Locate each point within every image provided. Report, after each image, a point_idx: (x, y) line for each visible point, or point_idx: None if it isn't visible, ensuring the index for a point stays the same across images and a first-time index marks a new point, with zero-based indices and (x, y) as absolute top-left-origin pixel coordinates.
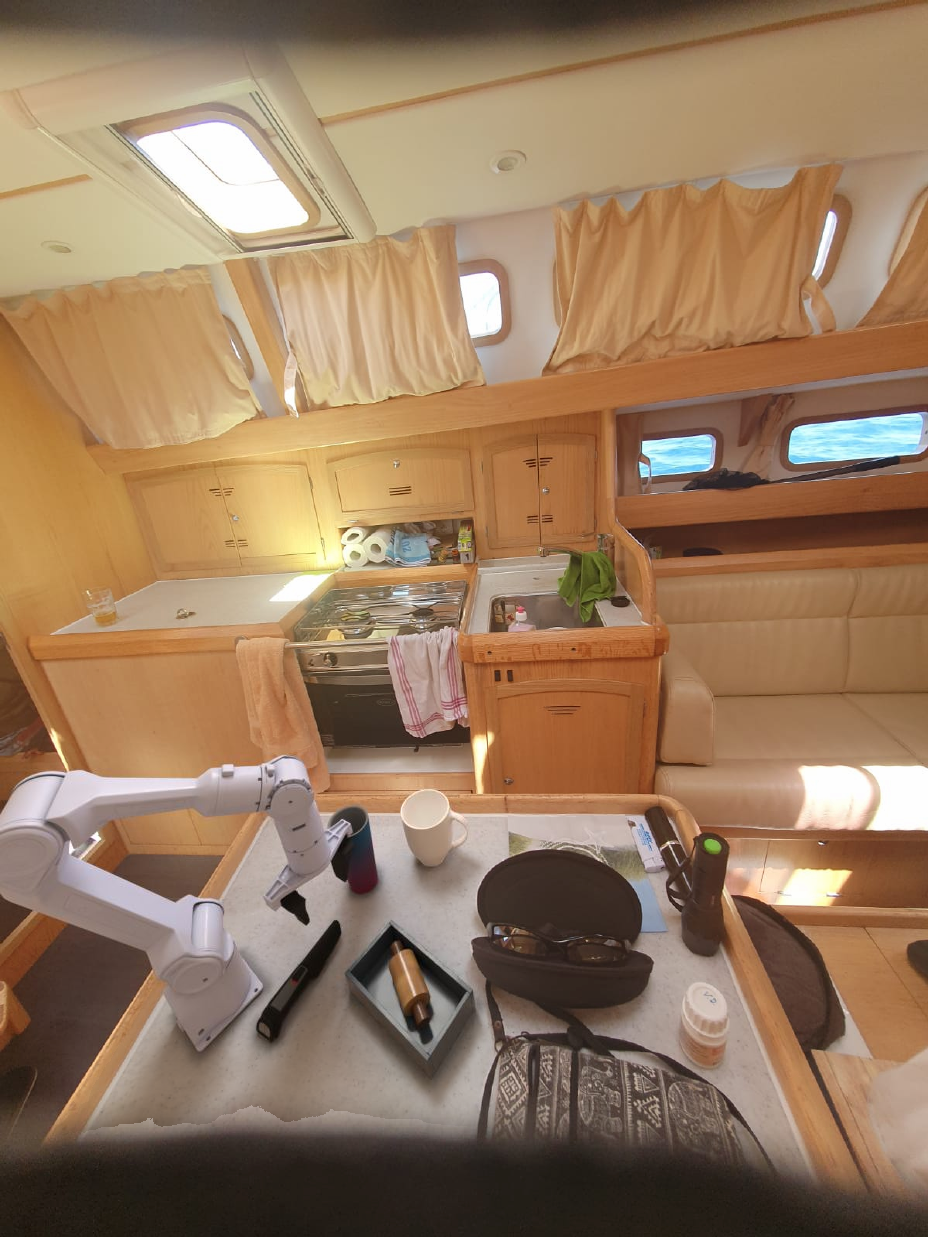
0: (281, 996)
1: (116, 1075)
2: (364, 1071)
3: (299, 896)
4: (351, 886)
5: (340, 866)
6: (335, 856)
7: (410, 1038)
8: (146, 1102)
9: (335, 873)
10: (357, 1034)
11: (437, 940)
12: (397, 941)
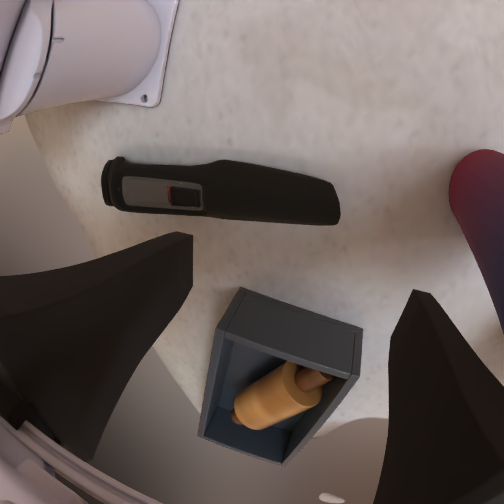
0: (140, 189)
1: None
2: (176, 341)
3: (67, 447)
4: (458, 185)
5: (401, 417)
6: (411, 470)
7: (203, 424)
8: None
9: (414, 311)
10: (199, 321)
11: (372, 388)
12: (327, 380)
